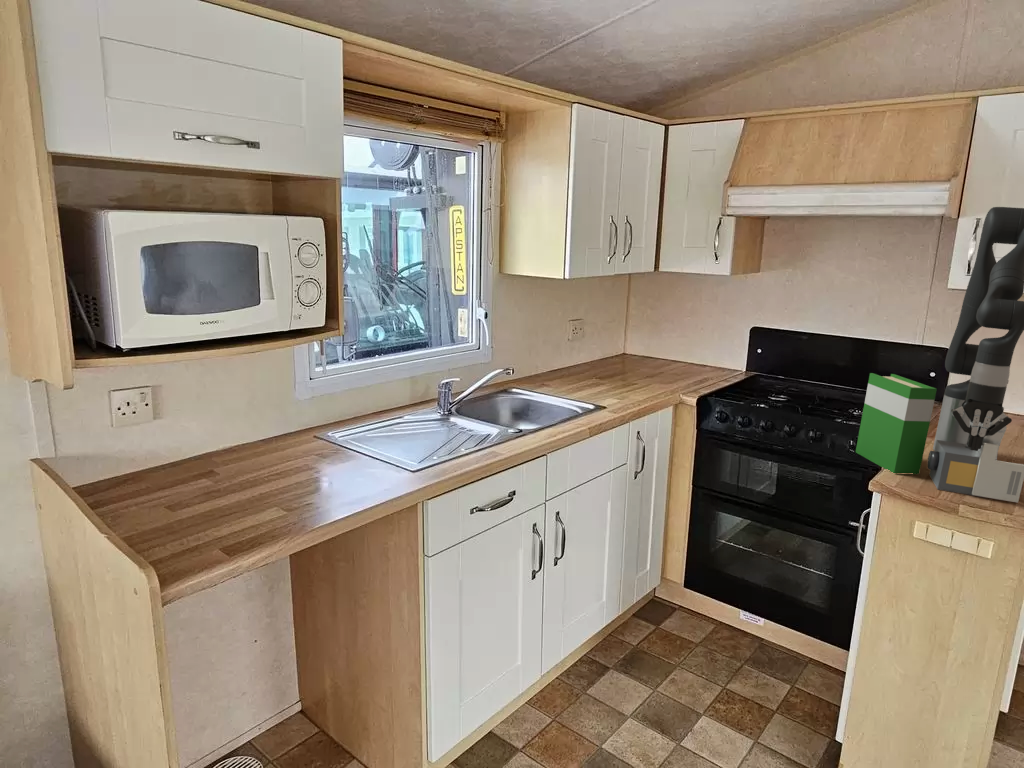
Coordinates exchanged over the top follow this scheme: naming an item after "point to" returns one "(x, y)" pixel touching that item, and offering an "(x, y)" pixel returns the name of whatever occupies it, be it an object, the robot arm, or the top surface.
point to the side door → (997, 476)
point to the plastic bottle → (995, 436)
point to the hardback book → (895, 422)
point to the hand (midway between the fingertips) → (973, 449)
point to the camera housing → (953, 466)
